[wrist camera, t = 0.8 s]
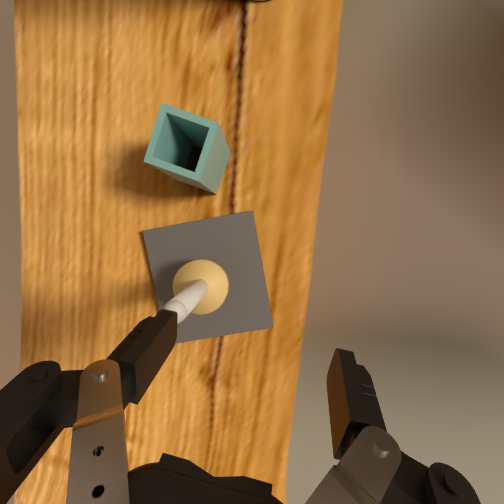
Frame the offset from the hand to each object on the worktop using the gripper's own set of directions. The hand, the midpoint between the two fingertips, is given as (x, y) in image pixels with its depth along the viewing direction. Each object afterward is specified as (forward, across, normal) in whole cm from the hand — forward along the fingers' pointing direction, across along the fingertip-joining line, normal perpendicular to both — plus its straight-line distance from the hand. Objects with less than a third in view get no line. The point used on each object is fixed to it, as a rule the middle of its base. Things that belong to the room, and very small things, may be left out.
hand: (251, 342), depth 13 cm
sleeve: (+25, +12, -5) cm, 28 cm away
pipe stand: (+21, +8, +10) cm, 24 cm away
